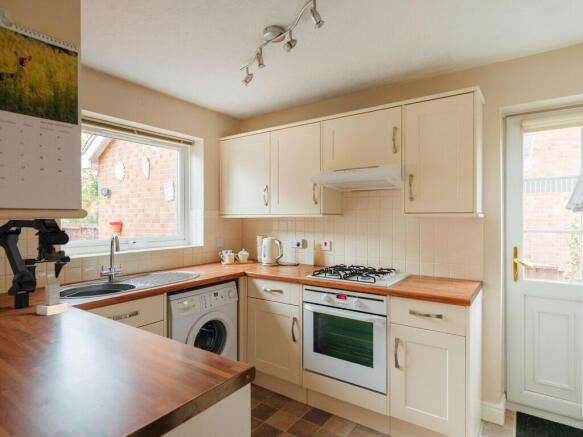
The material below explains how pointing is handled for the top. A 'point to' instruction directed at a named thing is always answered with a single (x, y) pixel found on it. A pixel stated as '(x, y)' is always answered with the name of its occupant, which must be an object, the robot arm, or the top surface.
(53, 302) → the grey rectangular block
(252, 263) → the top surface
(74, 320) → the top surface
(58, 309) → the cream square block
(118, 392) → the top surface
